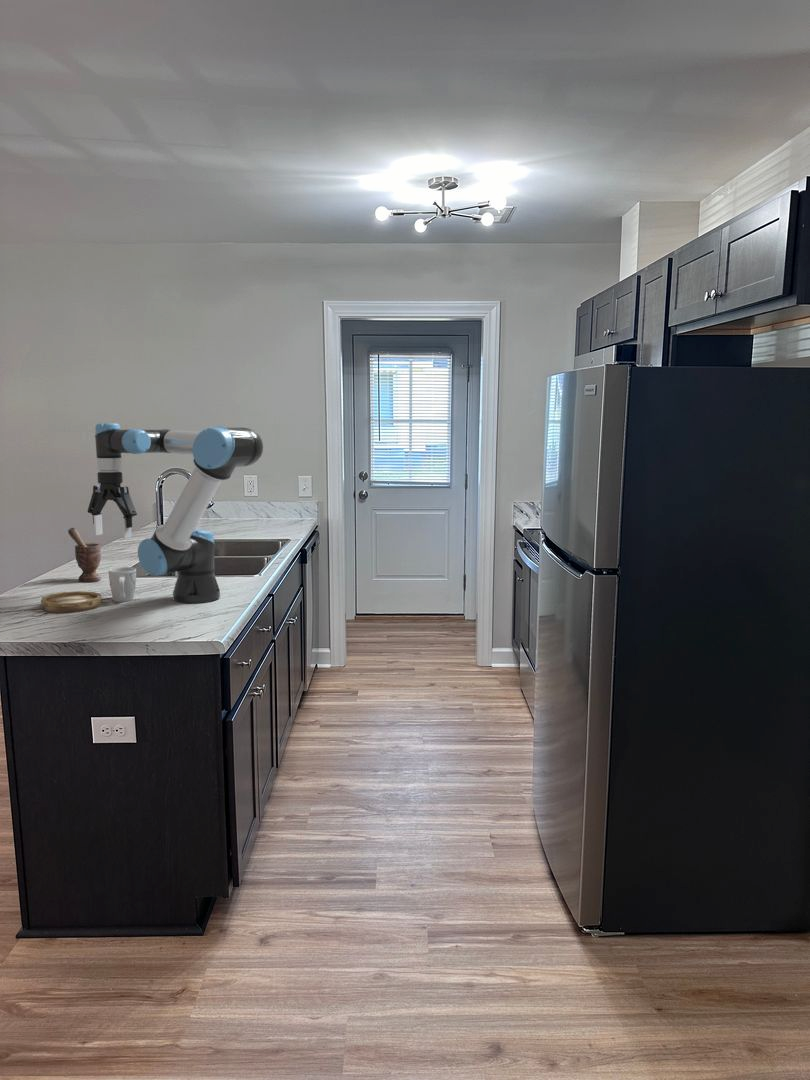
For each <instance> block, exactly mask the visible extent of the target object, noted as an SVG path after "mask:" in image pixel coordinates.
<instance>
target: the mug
mask: <svg viewBox="0 0 810 1080" xmlns="http://www.w3.org/2000/svg"><path fill="white" fill-rule="evenodd" d="M108 579H109V588H110V591H111V592H110V593H111V596H112V597H111V598H112V600H113V601H114V602H118V603H120V602H121V603H123V602H131V601H132V600H134V598H135V591H136V586H137V568H136V567H131V566H122V567H113V568H112V567H111V568H110V569H108Z"/></svg>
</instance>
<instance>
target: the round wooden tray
mask: <svg viewBox="0 0 810 1080" xmlns="http://www.w3.org/2000/svg"><path fill="white" fill-rule="evenodd" d="M40 604H41V610H42V611H45V612H48V613H53V614H55V613H56V614H70V613H71V614H72V613H83V612H88V611H92V610H95V609H98V608H99V607H101V606H102V593H98V592H95V591H85V590H84V591H82V590H78V591H77V590H76V591H63V592H62V591H61V592H56V593H51V594H47V595H44V596H42V597H41V599H40Z"/></svg>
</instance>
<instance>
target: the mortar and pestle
mask: <svg viewBox="0 0 810 1080" xmlns="http://www.w3.org/2000/svg"><path fill="white" fill-rule="evenodd" d="M67 533H68V535H69V536H70V538H71V539H72V540H73V542H75V544H76V545H75V546H74V551H75V553H74V555H75V561H76V563H77V566H78V568H80V569H81V571H82V572H81V575H79V576H78V578H77V579H78V581H79V582H81V583H93V582H99V581H100V580H102V579H101V575H100V574H99V573H97V569H98V568H99V566H100V563H101V559H102V551H101V549H102V547H101V546H102V543H99V542H98V543H96V542H90V543H89V542H86V543H84V541H83V538H82V537H81V536H80V533H79V532H78V529H76V528H75V527H70V528H68V531H67Z"/></svg>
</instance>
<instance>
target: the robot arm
mask: <svg viewBox="0 0 810 1080" xmlns="http://www.w3.org/2000/svg"><path fill="white" fill-rule="evenodd" d="M94 429H95V432H94V433H95V434H94V439H95V451H96V452H95V453H96V470H97V471H98V472H97V483H98V484H97V485H93V486H92V493H91V497H90V500H89V503H88V504H89V505H88V508H87V513H88V514H90V515H92V524H93V528H94V529H93V530H94V531H93V532H94V536H101V535H104V533H103V532H104V531H103V530H104V529H103V515H102V510H103V509H104V507H105V505H106V504H107V502H108V501H113V502H115V504H116V505H117V507H118V508H119V510H120V512H121V513H122V515H123V516H122V533H123V537H122V538H123V539H128V538H133V537H132V536H133V534H132V532H133V531H132V528H133V517H136V516H137V515H138V513H137V511H136V508H135V507H136V506H135V505H134V503H133V500H132V498H131V496H130V495H131V494H130V491H129V487H128V486H121V484H122V483H123V473H122V469H123V466H122V454H132V455H136V454H137V455H138V454H139V455H141V454H150V453H154V454H156V453H157V454H158V453H160V454H161V453H163V454H179V455H180V454H181V455H192V456H193V460H192V462H193V465H194V466H195V467H194V469H193V471H192V473H191V474H190V476H189V478H188V480H187V482H186V484H185V486H184V488H183V489H182V491H181V493H180V494H179V497H178V498H177V501H176V502H175V504H174V506H173V508H172V510H171V512H169V513H170V514H169V515H168V516H167V519H166V521H165V522H164V524H160V525H158V526H157V527H156V529H155V530H154V531H153V535H152V536H151V537H150V538H145V539H143V540H142V541H141V542H139V544H138V547H137V557H138V561H139V564H140V566H141V568H142V569H143V570H144V571H145V572H146V573H147V574H149V575H151V576H164V575H167V574H173V573H176V572H177V578H176V580H175V585H174V588H173V590H172V599H173V600H174V601H175V602H179V603H187V604H198V603H199V604H200V603H208V602H209V601H210V602H214V601H217V600H219V599H220V598H221V590H220V587H219V584H218V582H217V581H218V580H217V577H216V576H215V544H216V543H215V537H214V536H215V535H214V533H213V531H210V530H207V529H199V528H198V529H197V527H198V524H199V523H200V521H201V519H202V517H203V516H204V514H205V512H206V510H207V508H208V506H209V505H210V503H211V501H212V499H213V498H214V497H215V494H216V492H217V490H218V488H219V487H220V485H221V483H222V482H224V481H227V480H230V478H231V476H232V474H233V473H234V470H235V469H236V468H239V467H241V468H242V467H248V466H251V465H254V464H256V463H257V462H258V461H259V459H260V458H262V455H263V453H264V444H263V439H262V438H261V436H260V435H259V434H258V432H256V431H255V430H254V429H252V428H248V427H223V426H213V427H207V428H205V429H202V430H201V431H199V430H198V431H197V430H196V431H195V430H175V429H174V430H173V429H170V428H169V429H167V428H166V429H165V428H164V429H138V428H137V429H135V428H131V429H130V428H128V429H126V428H125V429H121V425H120V424H119V423H117V422H116V423H112V422H109V423H108V422H104V423H103V422H100V423H99V422H98V423H96V424H95V428H94ZM219 597H220V598H219ZM218 598H219V599H218ZM216 599H217V600H216ZM213 600H214V601H213ZM210 602H209V603H210Z"/></svg>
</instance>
